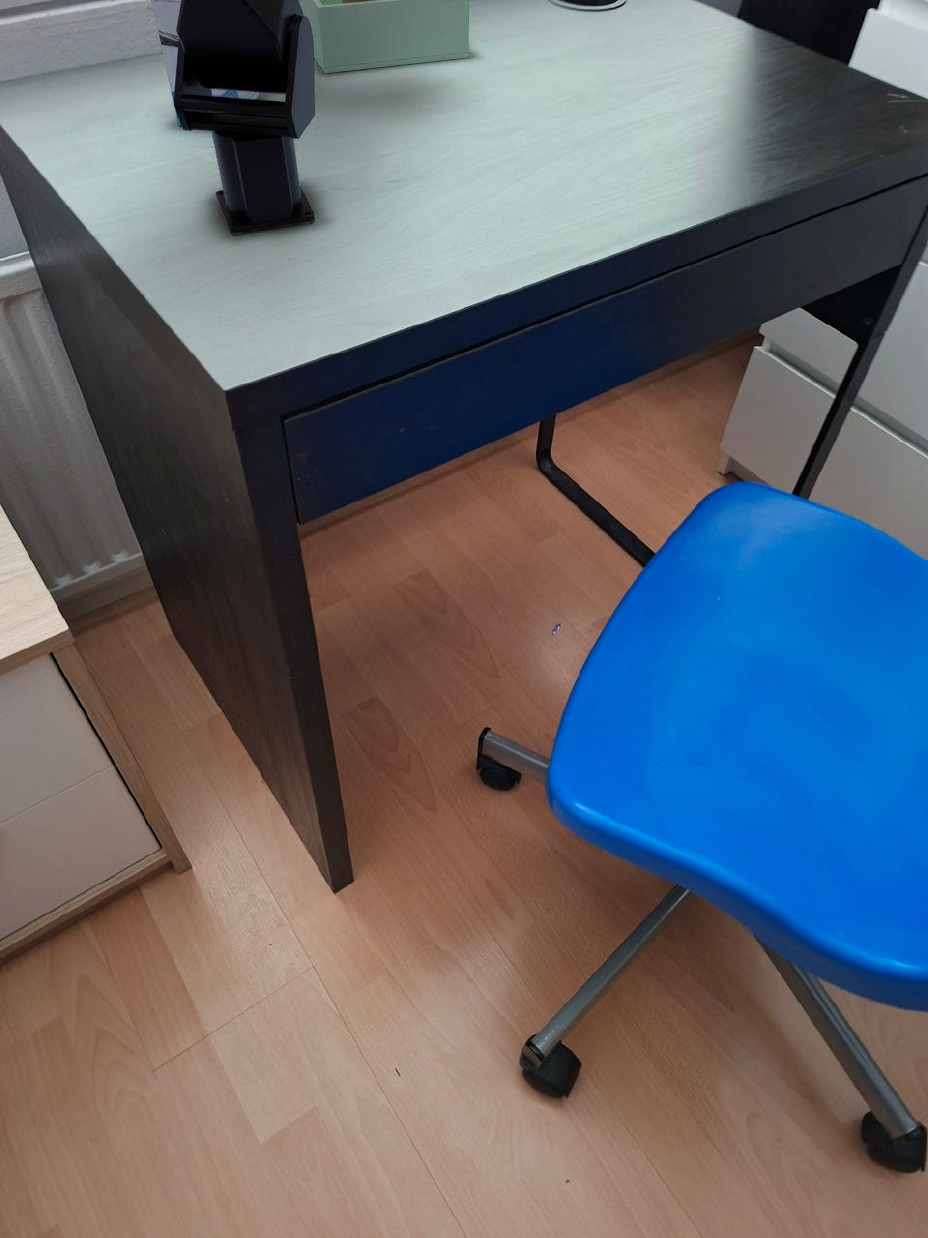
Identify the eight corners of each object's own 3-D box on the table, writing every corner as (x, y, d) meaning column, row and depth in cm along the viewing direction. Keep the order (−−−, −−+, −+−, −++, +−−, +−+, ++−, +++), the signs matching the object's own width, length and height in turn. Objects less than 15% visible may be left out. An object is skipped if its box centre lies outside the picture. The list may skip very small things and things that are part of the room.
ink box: (228, 131, 75) (198, -34, 66) (176, 125, 75) (138, -38, 66) (262, 96, 80) (238, -61, 71) (212, 91, 81) (182, -65, 72)
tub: (468, 57, 87) (469, -7, 83) (325, 73, 84) (318, 7, 80) (423, 13, 97) (422, -47, 92) (292, 26, 93) (284, -36, 89)
